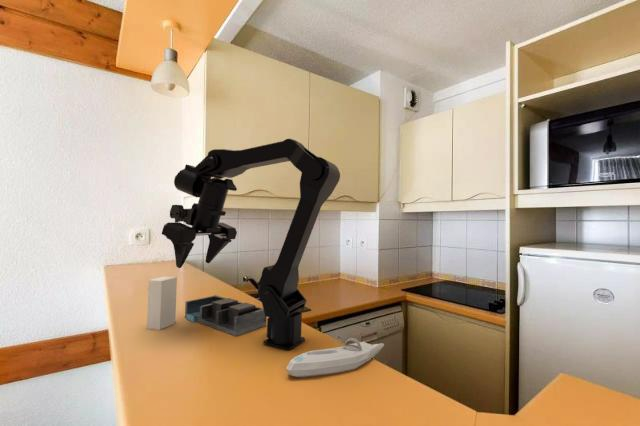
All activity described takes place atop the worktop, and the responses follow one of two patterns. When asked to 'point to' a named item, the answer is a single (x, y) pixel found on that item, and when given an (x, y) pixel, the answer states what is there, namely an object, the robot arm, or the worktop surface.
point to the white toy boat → (333, 359)
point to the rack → (225, 314)
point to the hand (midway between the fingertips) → (193, 265)
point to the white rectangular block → (161, 302)
